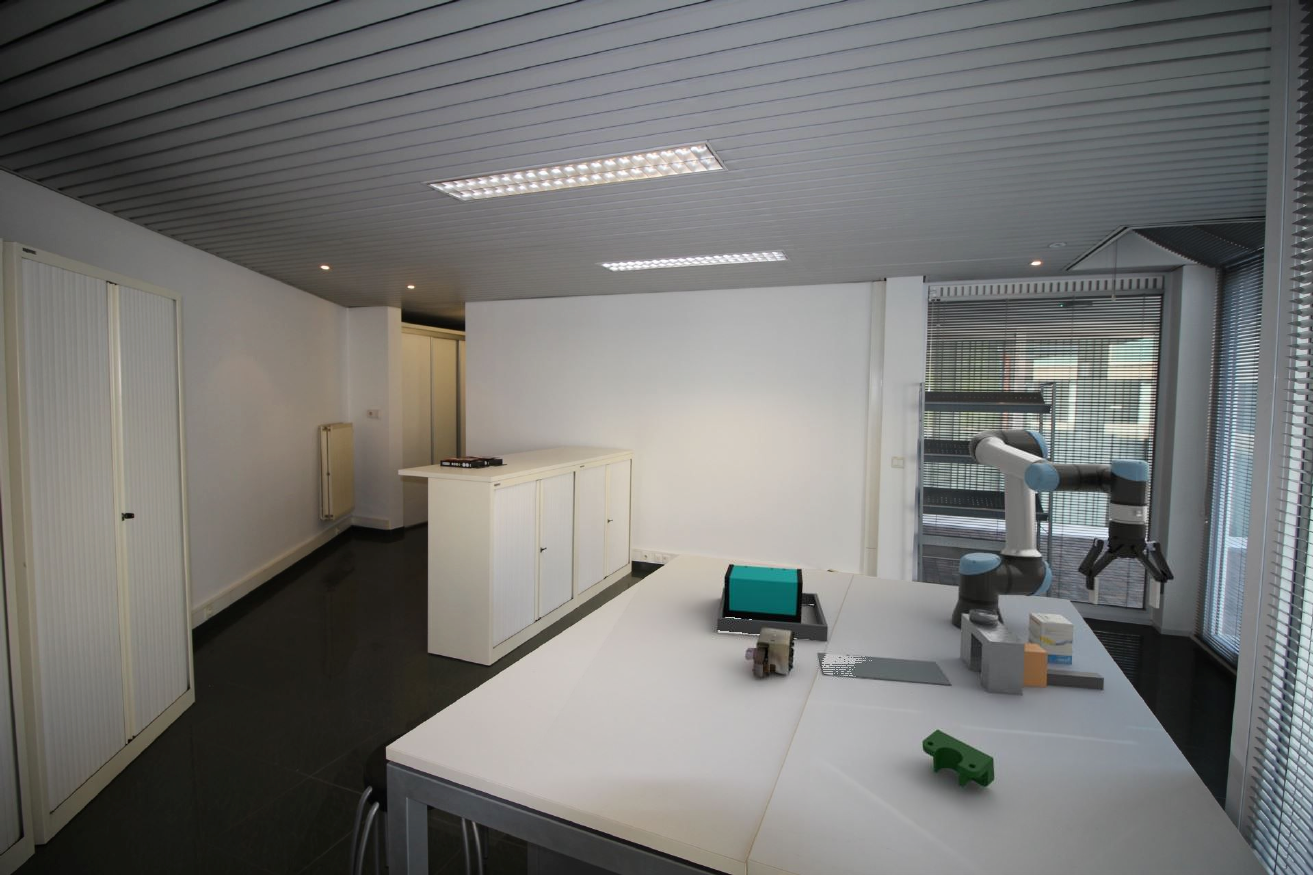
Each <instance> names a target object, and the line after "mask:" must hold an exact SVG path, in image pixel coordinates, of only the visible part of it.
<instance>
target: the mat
mask: <svg viewBox="0 0 1313 875" xmlns="http://www.w3.org/2000/svg"><path fill="white" fill-rule="evenodd" d="M825 654H827V652H817V655H818V659H819V664H820V663H821V664H820V667H823V666H822V665H824V664H822V662H824V661H822V660H824V659H823V658H825V657H824V656H826V655H825ZM846 655H847V656H849V655H850V654H846ZM852 655H853V654H852ZM853 656H854V655H853ZM860 656H861V657H853V658H862V659H859V660H866V661H855V662H862V663H855V664H849V663H848V664H832V665H846V666H829V667H835V668H821V672H822V671H833V672H822V674H823V673H833V675H848V676H849V675H853V676H856V677H861V678H860V679H866V678H873V679H872V680H878V679H879V681H881V680H882V681H889V682H890V681H892V682H906V683H916V684H917V683H918V684H928V685H939V686H951V687H952V683H951V681H950V679H949V678H948V677H947V675H946V674H945V673H944V671H943V670H942V668H941V667H940V665H939V664H938V663H937V661H930V660H917V659H905V658H904V659H903V658H891V657H880V656H879V657H878V656H866V655H865V657H862V656H863V655H860ZM839 658H841V657H839ZM848 658H849V657H848ZM851 658H852V657H851ZM863 658H864V659H863ZM865 658H866V659H865ZM844 660H845V659H844ZM856 660H858V659H856ZM869 660H870V661H869ZM871 660H872V661H871ZM835 662H836V661H835ZM844 662H845V661H844ZM848 662H849V661H848ZM825 665H830V664H825ZM847 665H854V666H847ZM824 667H826V666H824ZM836 667H840V668H836ZM841 667H848V668H841ZM849 667H851V668H849ZM854 667H855V668H854ZM822 669H835V670H822ZM836 669H838V670H836ZM839 669H846V670H839ZM849 669H851V670H849ZM852 669H853V670H852ZM836 671H838V672H836ZM841 671H844V672H841ZM847 671H851V672H847ZM834 673H835V674H834ZM837 673H838V674H837ZM841 673H844V674H841ZM845 673H849V674H845ZM850 673H852V674H850Z"/></svg>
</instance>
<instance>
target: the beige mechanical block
mask: <svg viewBox="0 0 1313 875" xmlns="http://www.w3.org/2000/svg"><path fill="white" fill-rule="evenodd" d="M794 635H795V632H792V631H788V630H780V629H773V628H766V627H762V628H761V632H760V635H759V636H758V639H757V641H756V646H755V647H747V648H746V650H745V653H744V658H745V660H746V661H752V660H753V665H752V666H753V668H752V674H753V676H754V677H760V678H764V677H770V673H771V672H770V670H771V671H774V673H776V674H782V675H789V674H790V672H792V670H793V669H794V664H793V663H794V658H795V657H794V656H795V649H794V647H795V642H794V641H795V640H796V639H794V638H793V637H794Z"/></svg>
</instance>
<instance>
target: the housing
mask: <svg viewBox="0 0 1313 875" xmlns="http://www.w3.org/2000/svg"><path fill="white" fill-rule="evenodd" d="M1024 643H1025V642H1024V641H1022V640H1021V639H1020V638H1019V637H1018V636H1017V635H1015V634H1014V633H1013V632H1012V631H1011V630H1009V629H1008V628H1007V627H1006V626H1005V624H1004V625H1002V624H1001V623H1000V622H999V621H998V614H996V613H994V612H991V611H987V610H981V609H973V610H970V611H969V614H962V620H961V628H960V651H959V653H960V654H959V659H960V660H961V662H962V663H963V664H964V665H965V667H966V668H968V670H969V671H972V672H973V671H975V672H981V673H980V684H981V685H982V687H983V688H984V689H985V690H986V692H988V693H993V694H995V693H996V694H1006V695H1019V696H1023V695H1024V685H1023V677H1024V652H1025V644H1024Z"/></svg>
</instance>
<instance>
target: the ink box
mask: <svg viewBox="0 0 1313 875" xmlns="http://www.w3.org/2000/svg"><path fill="white" fill-rule="evenodd" d="M1028 617H1029V620H1028V641H1027V643H1031V644H1038V645H1039V646H1040V647H1041V648H1043V649H1044V650H1045V651H1046V652H1047V653H1048V660H1047V663H1048V662H1050V663H1051V664H1062V665H1072V664H1073V644H1074V642H1073V641H1074V624H1073V623H1072V622H1070V621H1069V620H1068V619H1067V618H1065V617H1064V616H1062V615H1061V614H1053V613H1044V612H1043V613H1042V612H1029V616H1028ZM1050 663H1049V664H1050Z"/></svg>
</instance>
